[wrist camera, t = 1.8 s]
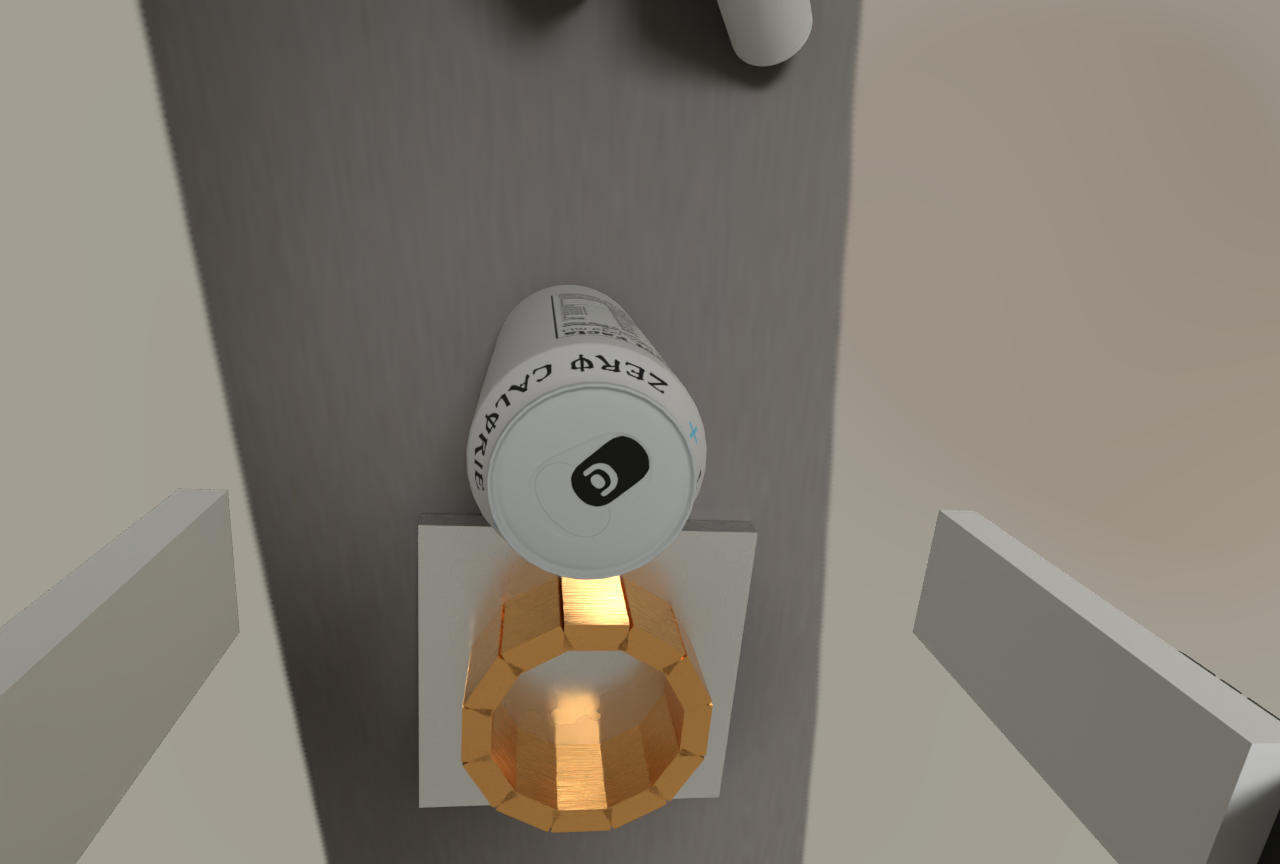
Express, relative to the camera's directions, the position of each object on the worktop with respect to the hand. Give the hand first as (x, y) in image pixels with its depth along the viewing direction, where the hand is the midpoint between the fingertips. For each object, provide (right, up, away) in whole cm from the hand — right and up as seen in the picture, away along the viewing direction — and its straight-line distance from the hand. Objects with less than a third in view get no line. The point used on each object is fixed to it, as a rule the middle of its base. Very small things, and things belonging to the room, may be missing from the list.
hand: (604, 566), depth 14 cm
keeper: (-2, -9, +22) cm, 23 cm away
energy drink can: (-2, +6, +17) cm, 19 cm away
